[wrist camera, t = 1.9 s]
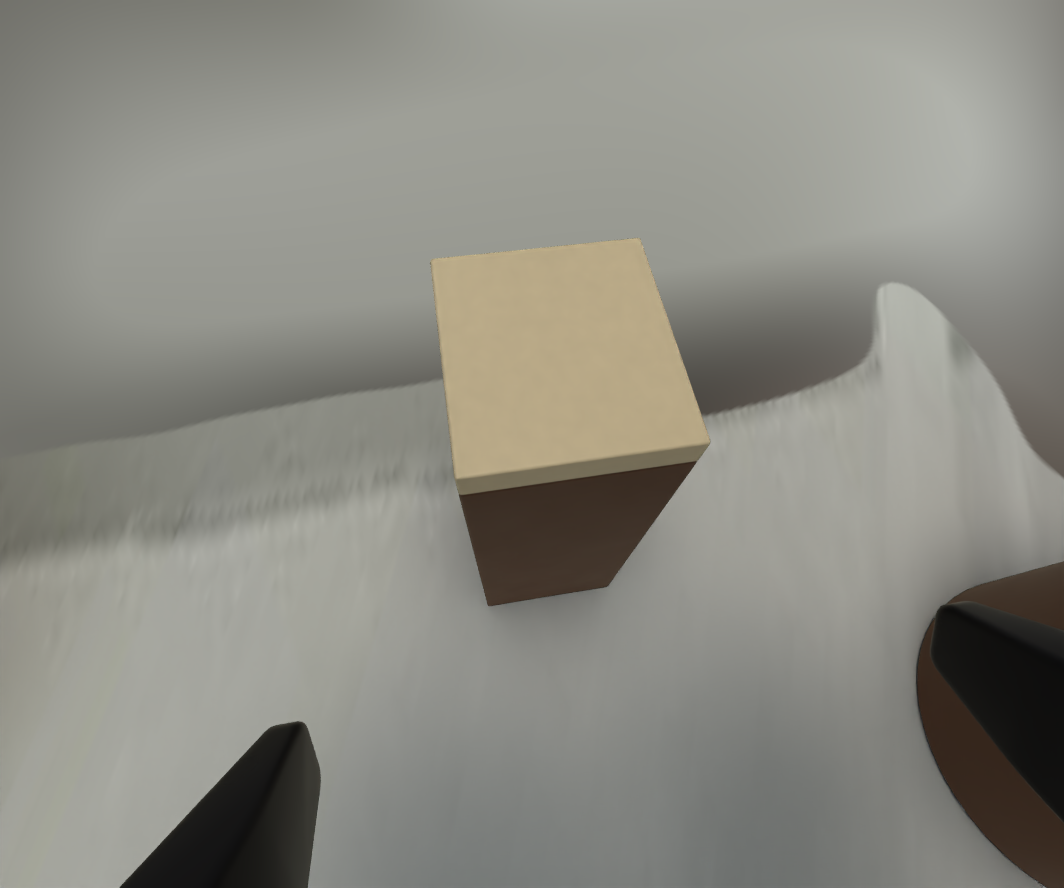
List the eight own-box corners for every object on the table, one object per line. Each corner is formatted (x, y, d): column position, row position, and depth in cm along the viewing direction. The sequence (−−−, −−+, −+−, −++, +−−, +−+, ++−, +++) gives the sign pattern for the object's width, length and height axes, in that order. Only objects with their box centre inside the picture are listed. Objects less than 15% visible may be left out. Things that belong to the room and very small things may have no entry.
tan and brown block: (608, 586, 20) (712, 442, 9) (487, 606, 20) (454, 479, 9) (581, 465, 22) (640, 236, 12) (472, 480, 22) (429, 257, 11)
